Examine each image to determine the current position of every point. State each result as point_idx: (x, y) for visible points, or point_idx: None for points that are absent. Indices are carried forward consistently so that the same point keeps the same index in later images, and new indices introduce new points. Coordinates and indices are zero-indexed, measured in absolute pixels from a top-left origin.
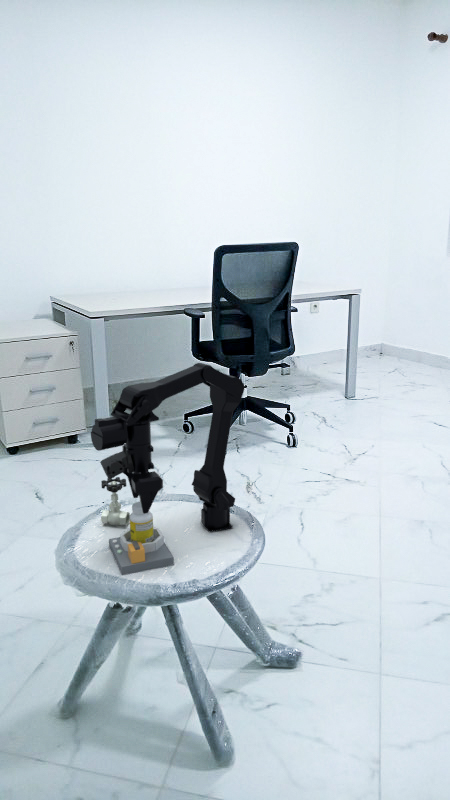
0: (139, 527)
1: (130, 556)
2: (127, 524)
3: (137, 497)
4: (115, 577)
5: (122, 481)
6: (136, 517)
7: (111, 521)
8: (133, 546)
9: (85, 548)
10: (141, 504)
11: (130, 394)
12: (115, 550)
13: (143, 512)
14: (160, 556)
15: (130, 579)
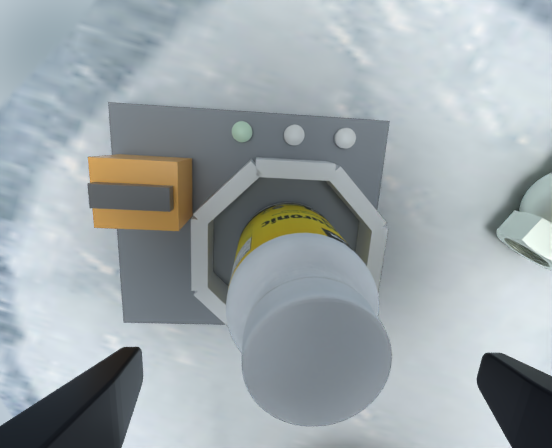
0: (235, 262)
1: (133, 156)
2: (502, 240)
3: (477, 379)
4: (117, 76)
5: None
6: (260, 277)
7: (546, 180)
8: (140, 183)
9: (412, 18)
10: (27, 415)
11: None
12: (270, 120)
13: (114, 353)
14: (145, 279)
15: (83, 130)
